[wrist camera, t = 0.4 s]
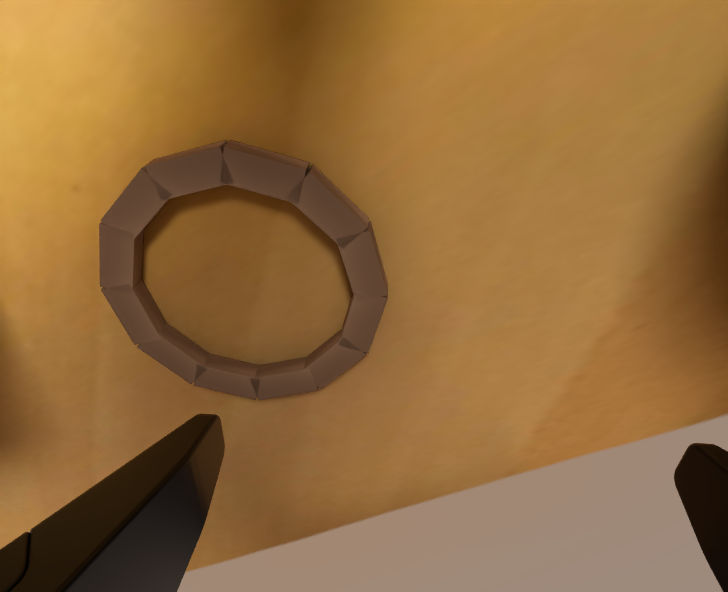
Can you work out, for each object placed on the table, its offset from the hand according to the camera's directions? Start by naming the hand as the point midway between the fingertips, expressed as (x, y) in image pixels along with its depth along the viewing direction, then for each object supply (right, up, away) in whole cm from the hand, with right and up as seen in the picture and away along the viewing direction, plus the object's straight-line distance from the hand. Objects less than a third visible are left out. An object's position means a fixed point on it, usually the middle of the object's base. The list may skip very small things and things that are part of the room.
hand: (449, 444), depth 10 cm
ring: (-7, +4, +15) cm, 17 cm away
